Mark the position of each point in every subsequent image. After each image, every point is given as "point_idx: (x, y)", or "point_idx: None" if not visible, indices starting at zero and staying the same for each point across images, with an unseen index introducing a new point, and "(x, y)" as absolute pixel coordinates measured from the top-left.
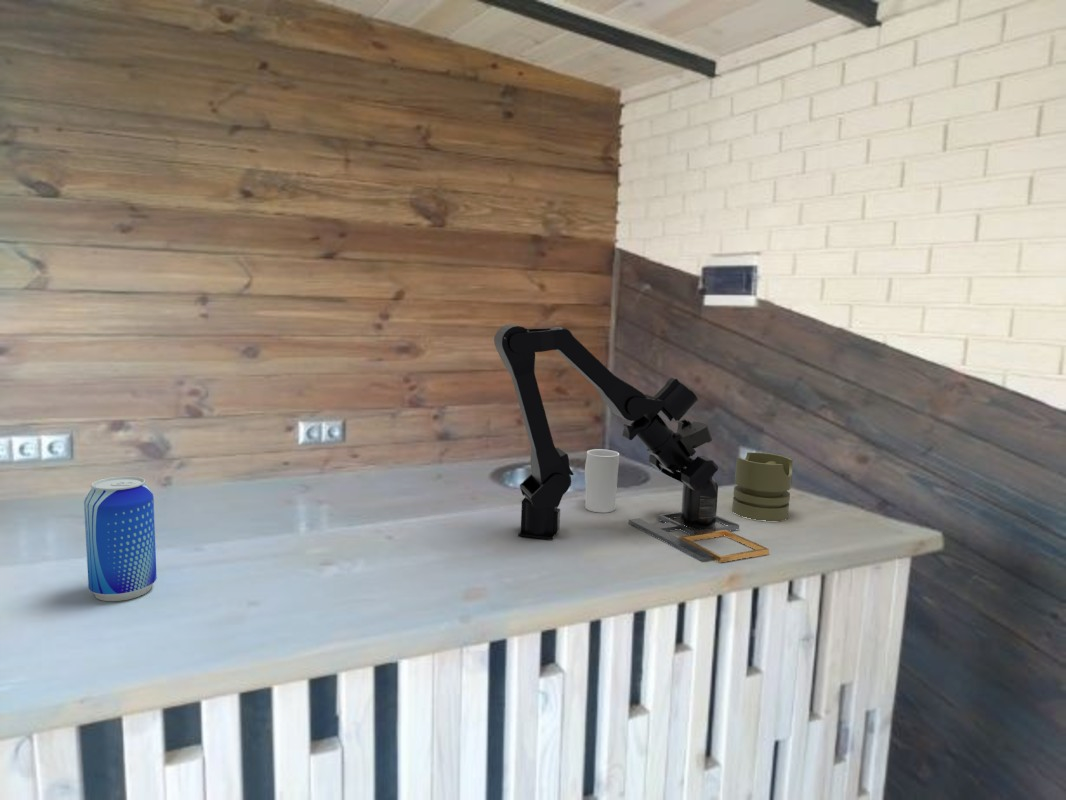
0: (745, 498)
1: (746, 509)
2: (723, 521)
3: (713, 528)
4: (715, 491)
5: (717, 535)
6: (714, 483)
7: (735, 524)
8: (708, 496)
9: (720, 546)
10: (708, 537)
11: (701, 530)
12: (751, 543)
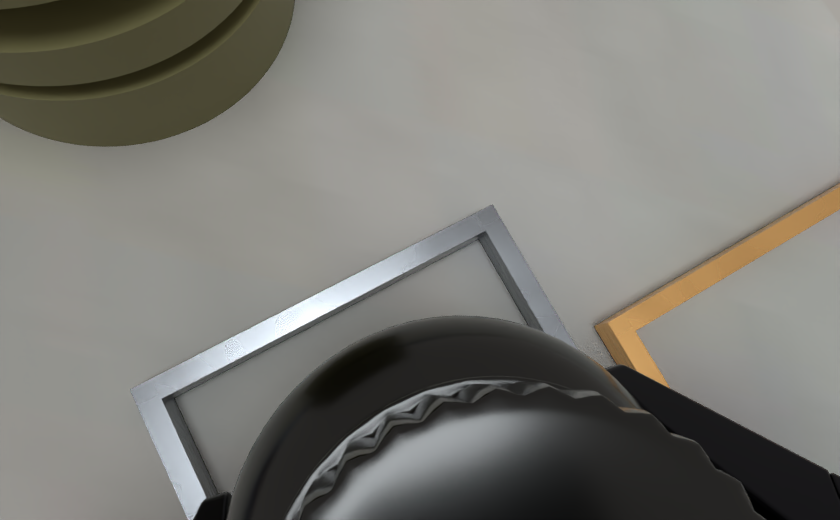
0: (182, 31)
1: (220, 70)
2: (389, 282)
3: None
4: (678, 395)
5: None
6: (606, 389)
7: (483, 226)
8: None
9: (804, 405)
10: None
11: None
12: (805, 227)
